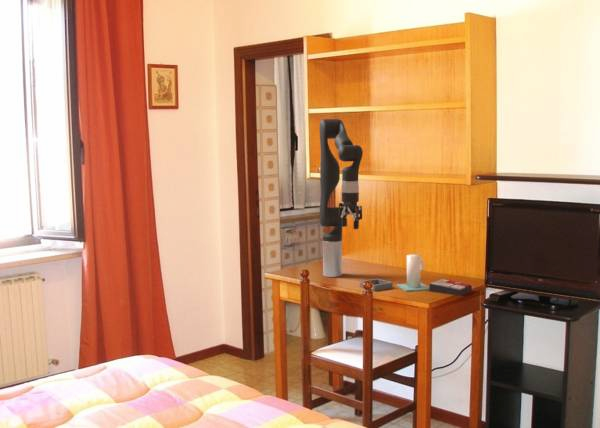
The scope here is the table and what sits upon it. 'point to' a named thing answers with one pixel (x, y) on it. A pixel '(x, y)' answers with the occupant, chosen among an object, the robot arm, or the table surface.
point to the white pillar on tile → (414, 270)
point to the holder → (379, 284)
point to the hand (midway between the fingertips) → (350, 227)
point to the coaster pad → (405, 288)
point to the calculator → (450, 287)
